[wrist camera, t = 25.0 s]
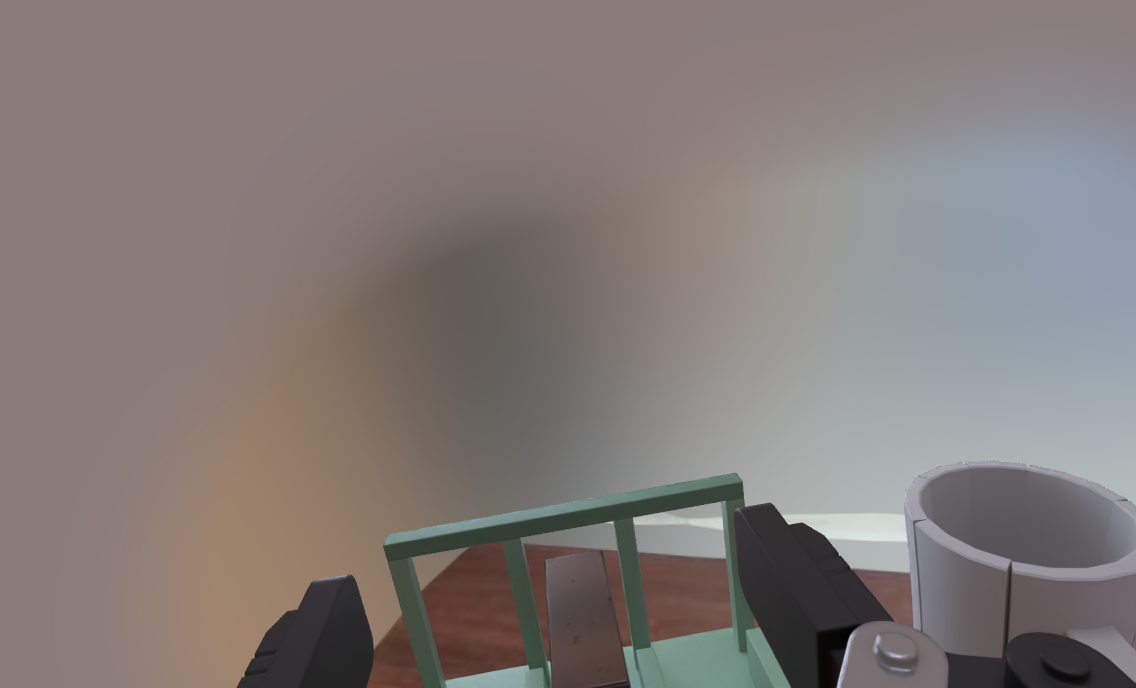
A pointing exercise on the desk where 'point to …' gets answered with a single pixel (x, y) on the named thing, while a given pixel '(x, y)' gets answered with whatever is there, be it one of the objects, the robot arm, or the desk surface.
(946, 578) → the cup
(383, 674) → the desk surface
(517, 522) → the rack
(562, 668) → the dark brown rectangular block
